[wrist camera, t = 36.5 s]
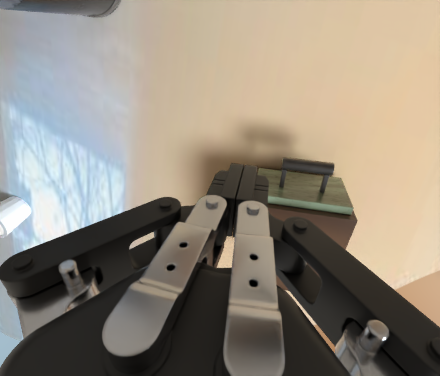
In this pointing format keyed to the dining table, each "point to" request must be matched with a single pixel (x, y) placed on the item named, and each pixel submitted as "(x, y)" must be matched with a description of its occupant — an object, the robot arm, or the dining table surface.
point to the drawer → (307, 187)
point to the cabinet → (318, 225)
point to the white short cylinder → (12, 214)
